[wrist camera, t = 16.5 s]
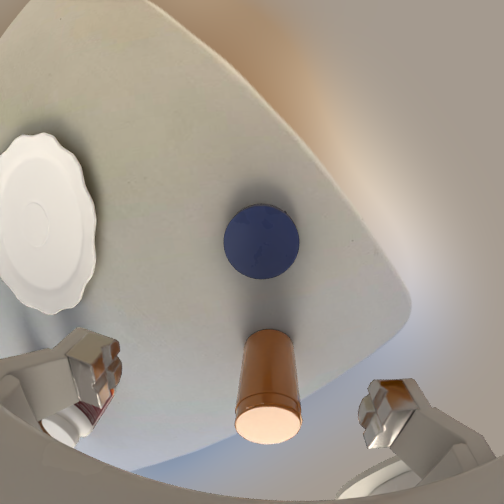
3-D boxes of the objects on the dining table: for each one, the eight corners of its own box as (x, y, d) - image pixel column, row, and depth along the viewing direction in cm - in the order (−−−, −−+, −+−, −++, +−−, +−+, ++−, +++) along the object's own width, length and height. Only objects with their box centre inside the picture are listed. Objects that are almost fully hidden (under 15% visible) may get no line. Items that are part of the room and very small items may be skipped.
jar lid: (257, 188, 24) (256, 189, 22) (312, 234, 24) (315, 238, 23) (212, 243, 25) (208, 248, 23) (266, 285, 26) (266, 293, 24)
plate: (-4, 139, 23) (-13, 139, 21) (113, 130, 23) (104, 129, 21) (-1, 286, 28) (-8, 290, 27) (107, 327, 28) (100, 334, 27)
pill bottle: (77, 353, 30) (30, 404, 19) (116, 372, 30) (76, 432, 19) (80, 384, 32) (42, 434, 21) (117, 402, 32) (84, 459, 21)
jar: (302, 356, 28) (313, 432, 18) (260, 374, 29) (255, 451, 19) (278, 320, 27) (282, 395, 17) (234, 341, 28) (219, 417, 18)
